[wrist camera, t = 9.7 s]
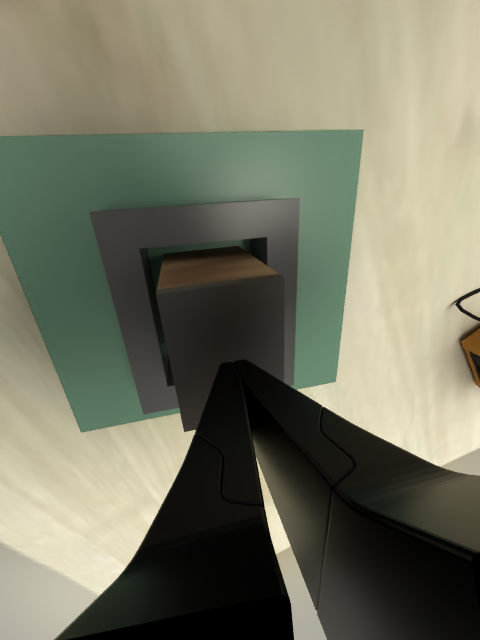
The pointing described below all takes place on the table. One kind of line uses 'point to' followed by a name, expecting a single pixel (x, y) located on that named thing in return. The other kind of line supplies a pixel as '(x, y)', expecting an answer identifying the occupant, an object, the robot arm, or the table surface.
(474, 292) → the multimeter
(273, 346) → the plug
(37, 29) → the table surface
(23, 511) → the table surface
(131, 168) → the board
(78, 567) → the table surface
